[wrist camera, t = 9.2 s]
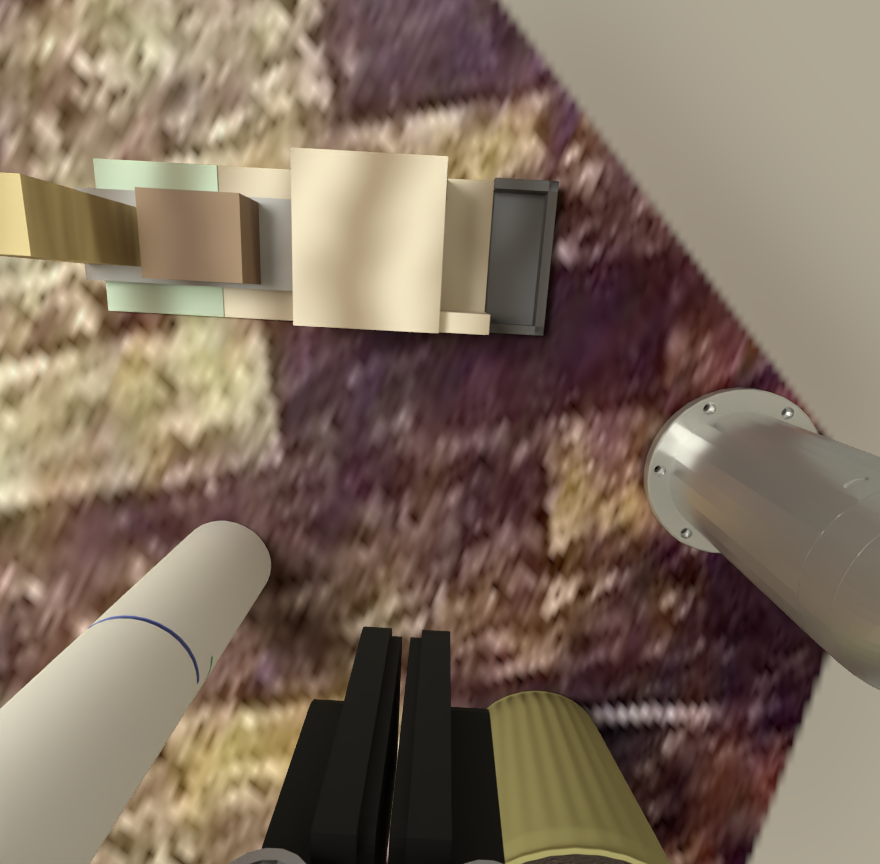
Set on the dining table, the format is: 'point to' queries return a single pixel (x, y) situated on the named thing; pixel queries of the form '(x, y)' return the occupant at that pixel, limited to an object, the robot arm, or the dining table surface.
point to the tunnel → (372, 244)
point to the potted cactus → (563, 788)
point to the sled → (150, 233)
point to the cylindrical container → (120, 696)
